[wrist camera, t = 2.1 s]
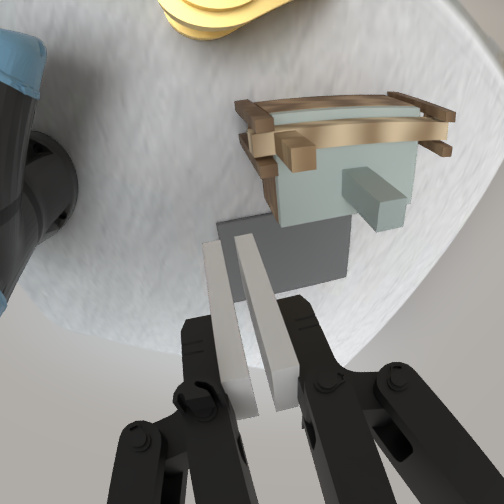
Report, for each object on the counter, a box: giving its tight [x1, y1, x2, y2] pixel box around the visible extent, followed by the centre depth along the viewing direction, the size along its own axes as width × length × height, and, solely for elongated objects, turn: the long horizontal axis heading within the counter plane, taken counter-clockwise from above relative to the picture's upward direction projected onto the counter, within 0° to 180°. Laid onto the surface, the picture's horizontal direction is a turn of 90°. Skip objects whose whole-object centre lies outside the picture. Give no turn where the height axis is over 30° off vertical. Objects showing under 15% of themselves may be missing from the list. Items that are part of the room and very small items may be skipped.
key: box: [247, 117, 448, 173], centre depth 26 cm, size 23×2×7 cm, turn 96°
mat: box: [216, 212, 352, 303], centre depth 48 cm, size 20×15×1 cm
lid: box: [269, 106, 420, 232], centre depth 29 cm, size 18×13×9 cm
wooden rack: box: [234, 92, 456, 223], centre depth 34 cm, size 23×14×12 cm, turn 96°
